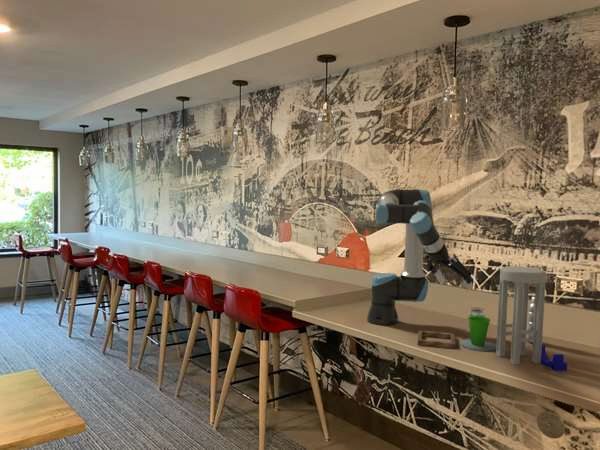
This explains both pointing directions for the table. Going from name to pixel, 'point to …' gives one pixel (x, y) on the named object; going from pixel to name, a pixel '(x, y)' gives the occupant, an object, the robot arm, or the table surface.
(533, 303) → the plastic bottle
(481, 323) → the cup
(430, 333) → the cup holder
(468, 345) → the mat
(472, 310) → the wineglass
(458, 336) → the table surface
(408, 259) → the robot arm
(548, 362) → the cable clip
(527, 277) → the stool
